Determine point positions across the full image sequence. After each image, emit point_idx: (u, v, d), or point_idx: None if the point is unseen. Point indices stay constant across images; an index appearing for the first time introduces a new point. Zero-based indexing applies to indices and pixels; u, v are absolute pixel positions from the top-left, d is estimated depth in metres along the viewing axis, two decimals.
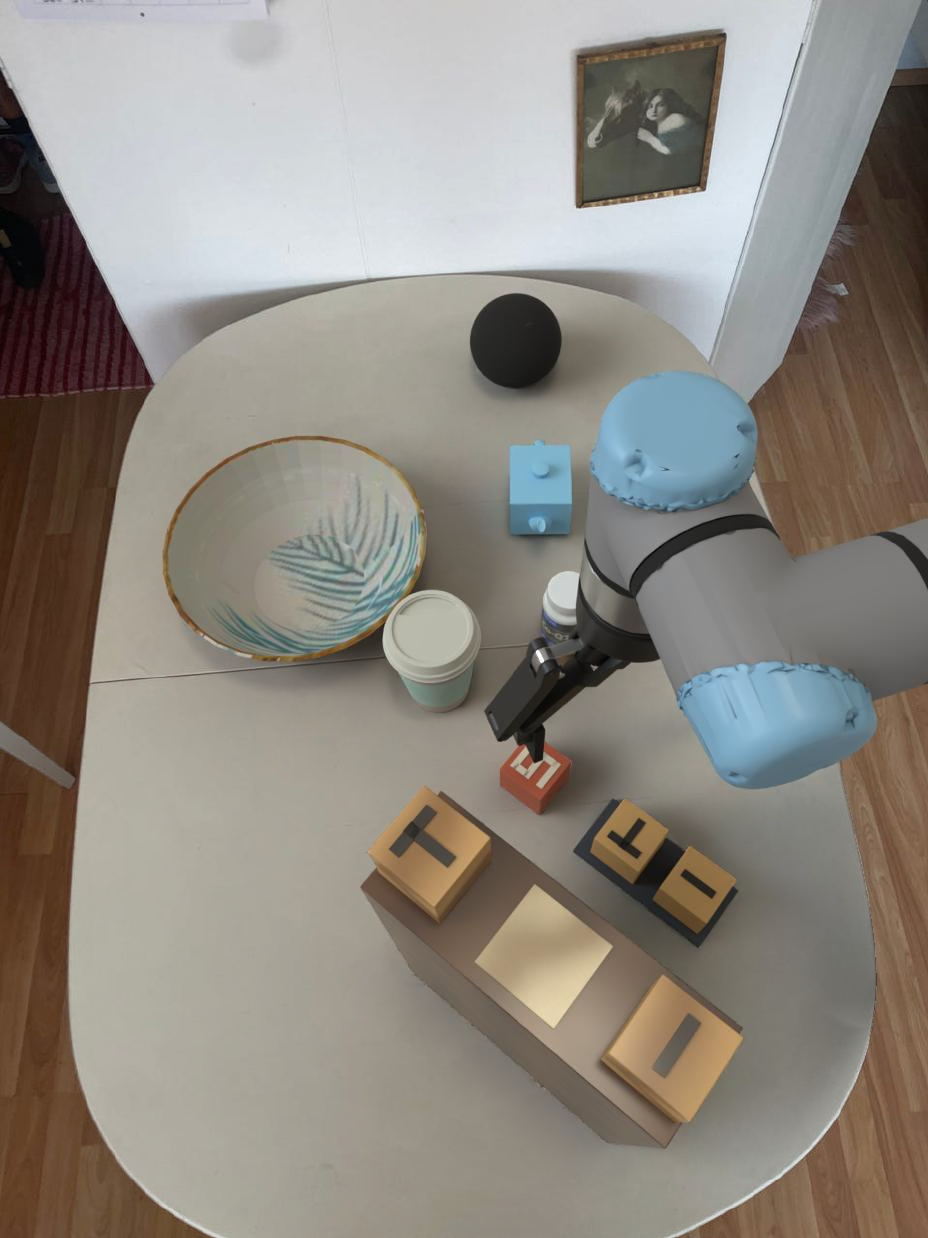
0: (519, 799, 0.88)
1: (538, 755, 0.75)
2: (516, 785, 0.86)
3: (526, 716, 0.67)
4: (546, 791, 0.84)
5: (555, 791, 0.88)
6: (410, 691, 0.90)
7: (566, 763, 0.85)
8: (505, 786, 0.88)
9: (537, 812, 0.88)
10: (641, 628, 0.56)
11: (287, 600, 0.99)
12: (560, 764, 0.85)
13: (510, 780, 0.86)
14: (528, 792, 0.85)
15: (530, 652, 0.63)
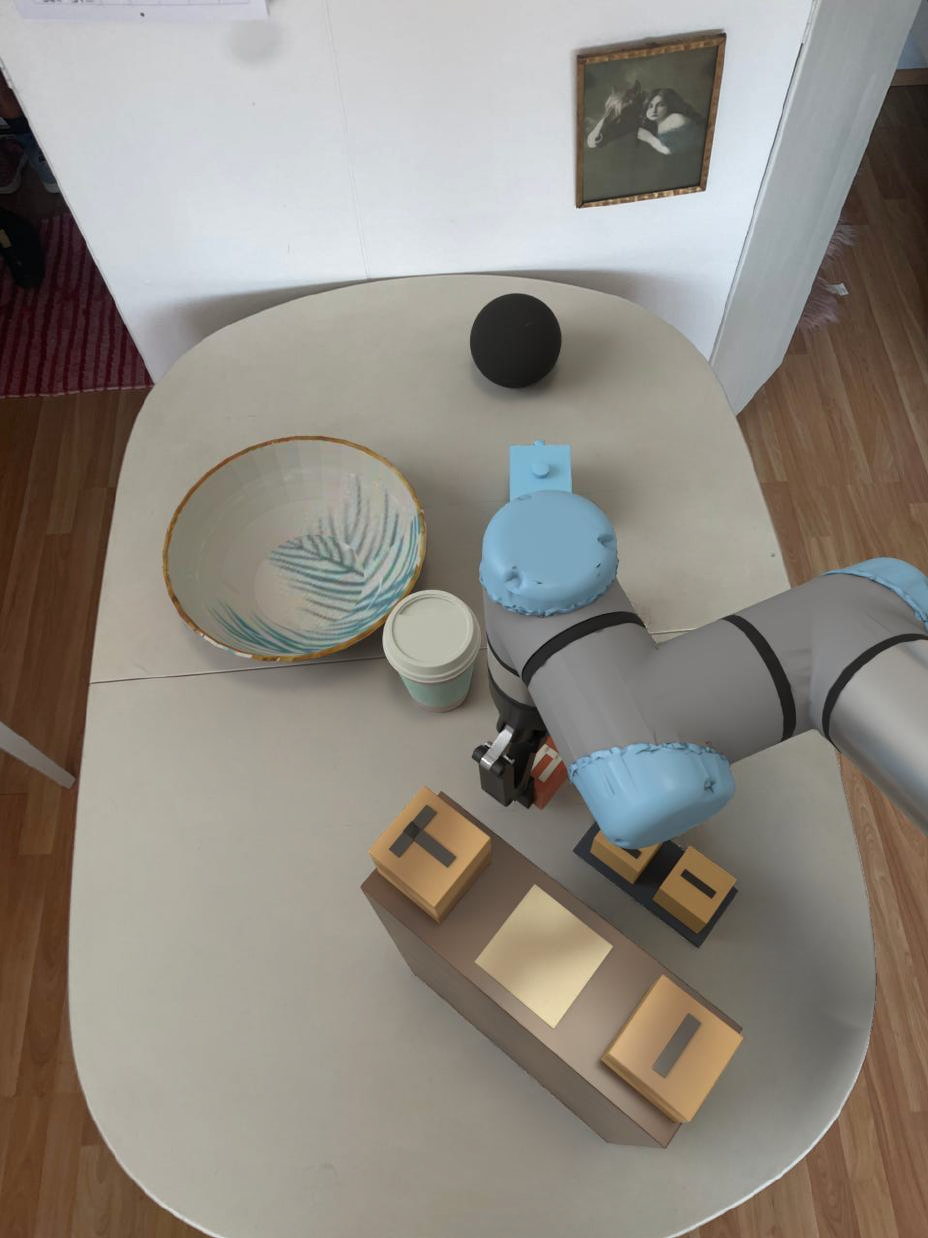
0: None
1: (530, 801, 0.84)
2: None
3: (512, 786, 0.75)
4: (548, 785, 0.82)
5: (558, 785, 0.85)
6: (410, 691, 0.90)
7: None
8: None
9: (539, 807, 0.85)
10: None
11: (287, 600, 0.99)
12: None
13: None
14: None
15: None
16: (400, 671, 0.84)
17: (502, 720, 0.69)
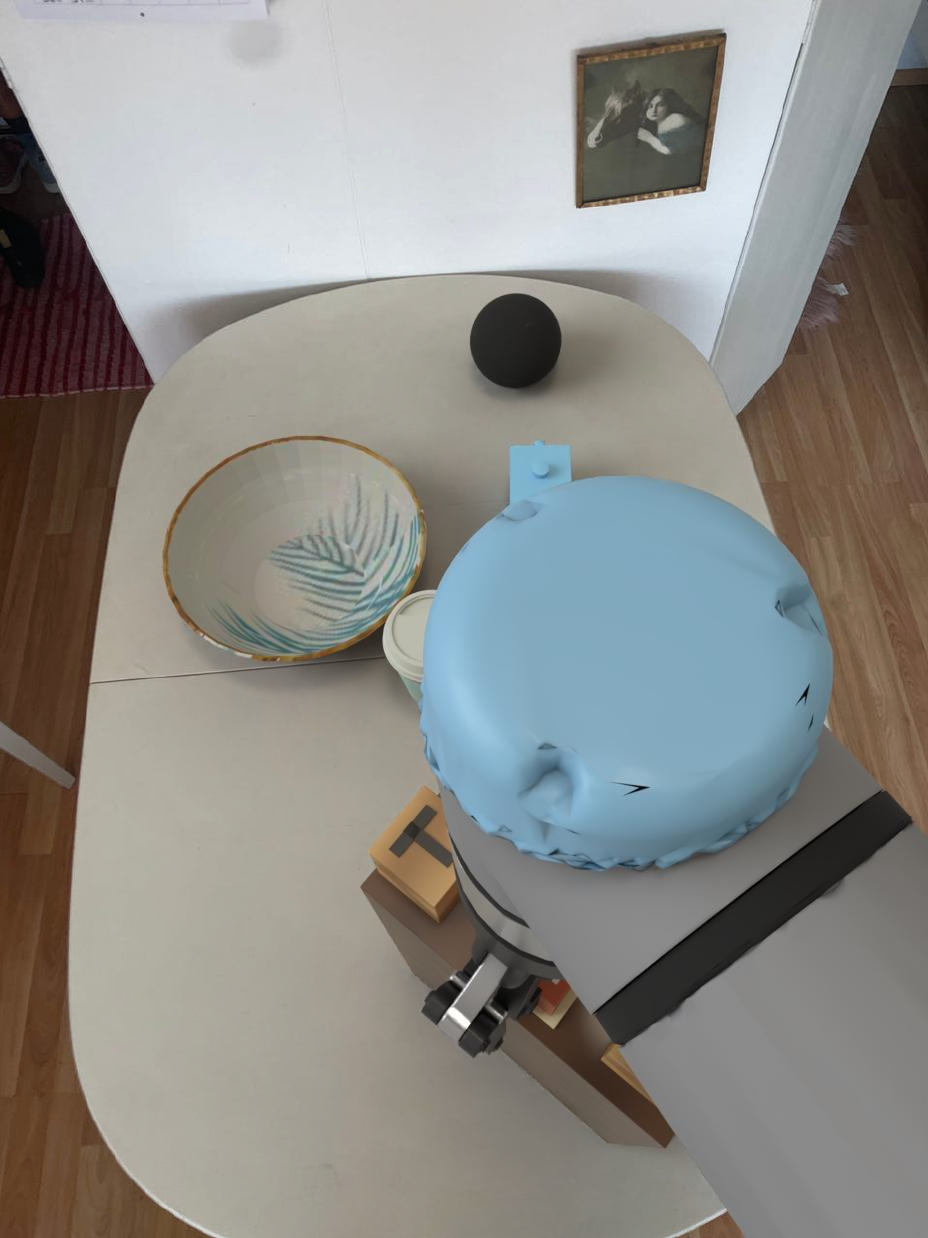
0: None
1: (533, 1009, 0.49)
2: None
3: (502, 1031, 0.40)
4: (565, 989, 0.47)
5: None
6: (410, 691, 0.90)
7: None
8: None
9: (547, 1012, 0.50)
10: None
11: (287, 600, 0.99)
12: None
13: None
14: None
15: None
16: (400, 671, 0.84)
17: (483, 947, 0.34)
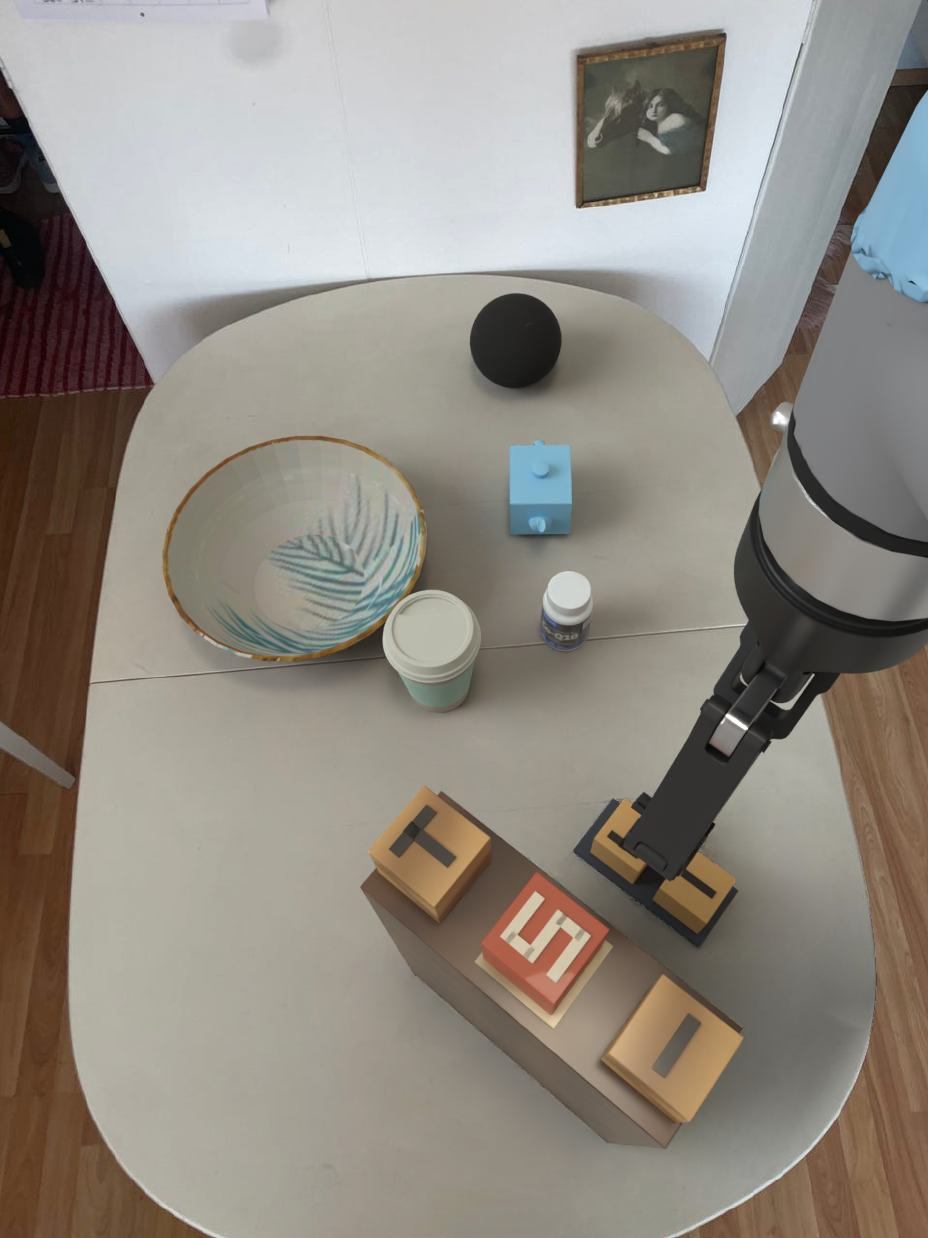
0: (516, 986, 0.51)
1: (691, 860, 0.48)
2: (510, 971, 0.48)
3: (710, 824, 0.40)
4: (564, 988, 0.47)
5: (579, 975, 0.50)
6: (410, 691, 0.90)
7: (600, 933, 0.48)
8: (492, 963, 0.51)
9: (547, 1012, 0.50)
10: None
11: (287, 600, 0.99)
12: (590, 936, 0.48)
13: (500, 962, 0.48)
14: (531, 988, 0.47)
15: (706, 727, 0.36)
16: (400, 671, 0.84)
17: (763, 656, 0.36)
